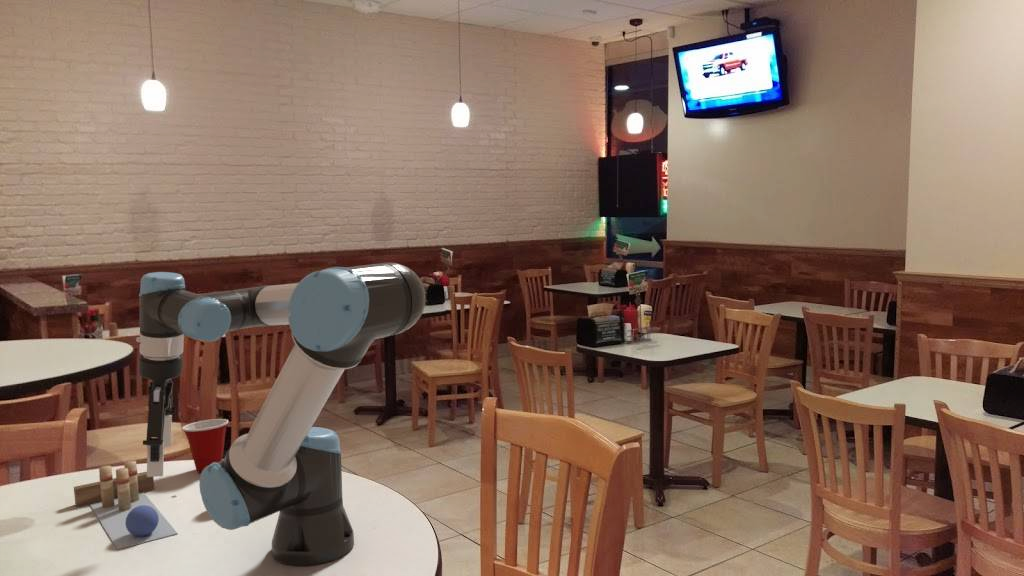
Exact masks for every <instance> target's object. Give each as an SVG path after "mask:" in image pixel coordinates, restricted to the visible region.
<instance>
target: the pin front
mask: <svg viewBox="0 0 1024 576" xmlns="http://www.w3.org/2000/svg"><path fill="white" fill-rule="evenodd" d="M115 478H116V483H117V493H118V505H119V511H127V510H130V509H131V499H130V486H129V474H128V468H125V467H121V468H118V469H115Z"/></svg>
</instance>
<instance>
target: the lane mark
mask: <svg viewBox="0 0 1024 576" xmlns="http://www.w3.org/2000/svg"><path fill="white" fill-rule="evenodd" d="M114 504H115V505H114V506H113V507H110V508H102V501H101V502H96V503H92V504H89V506H90V507H91V510H92V511H93V512H94V515H95V516H96V517H97V519H98V520H99V522H100V524H101V525H102V527H103V529H104V530H105V532H106V534H107V536H109V538H110V540H111V542H112V543H113V546H114V547H115V549H116V550H117V551H118V550H122V549H126V548H130V547H133V546H138V545H141V544H145V543H149V542H153V541H156V540H159V539H161V540H162V539H164V538H168V537H173V536H176V535H178V532H177V531H176V530H175V528H174V527H173V526H172V525H171V523H170V522H169V521H168V519H166V517H165V516H164V515H163V513H162V512H161V511H160V510H159V509H158V507H156V505H155V504H154V503H153V501H151V499H150V498H149V497H148V496H147V495H146V493H145V492H141V493H139V500H138V501H136V502H131V509H130V510H127V511H119V505H118V498H114ZM141 505H147V506H150V507H152V508H154V509H155V510H156V512H157V513H158V517H159V521H158V525H157V527H156V529H155V530H154V531H153V532H152V533H150V534H148V535H146V536H142V537H139V536H134V535H132V534H131V533H130V532H129V531H128V530H127V528H126V517H127V515H128V514H129V512H130V511H131V510H132V509H134V508H135V507H137V506H141Z"/></svg>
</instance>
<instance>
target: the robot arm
mask: <svg viewBox="0 0 1024 576" xmlns="http://www.w3.org/2000/svg"><path fill="white" fill-rule="evenodd" d="M185 282H186V281H185V278H184V276H183V275H181V274H180V273H177V272H168V271H156V272H148V273H146V274H144V275H143V276H142V277H141V279H140V290H139V291H140V292H139V294H138V297H139V336H137V337H136V339H135V342H137V343H139V353H140V356H139V358H138V373H139V376H140V377H141V378H144V379H147V380H151V381H150V383H149V386H148V390H147V393H148V401H147V402H148V403H147V406H148V411H147V426H146V427H147V428H146V440H142V445H144V446H147V447H146V454H147V455H146V472H147V477H154V478H155V477H164V465H165V464H164V462H165V461H164V460H165V458H164V456H165V455H164V453H165V448H166V447H167V448H168V447H169V448H170V447H172V425H173V424H172V423H173V421H172V420H173V419H172V417H173V415H172V414H174V415H175V414H176V411H177V409H176V407H174V403H173V388H174V382H173V380H172V379H176V378H179V377H180V376H181V375H182V374H183V369H184V368H183V367H184V366H183V364H184V363H183V362H184V356H183V355H182V354H183V353H184V347H185V346H184V343H185V342H184V338H185V336H186V337H188V338H190V339H193V340H195V341H201V342H206V343H207V342H216V341H218V340H219V339H220V338H222V337H223V336H225V334H226V333H228V332H232V331H238V330H242V329H249V328H255V327H270V326H272V327H273V326H287V325H289V329H290V331H291V338H292V340H293V343H294V345H293V347H292V350H291V351H290V353H289V354H288V357H287V358H286V361H285V362H284V364H283V367H282V368H281V370H280V372H279V374H278V375H277V378H276V380H275V382H274V384H273V385H272V387H271V389H270V391H269V393H268V394H267V397H266V398H265V401H264V402H263V405H262V407H261V408H260V410H259V412H258V414H257V416H256V418H255V419H254V422H253V423H252V425H251V428H250V429H249V431H248V433H245V434H242V435H240V436H239V437H237V438H236V439H235V440H234V441H233V442H232V443H231V446H230V447H229V449H228V451H227V452H226V455H225V457H224V458H222V461H220V462H218V463H217V462H214V463H212V464H211V465H209V466H207V467H205V468H204V469H203V471H202V473H200V475H199V476H200V477H199V493H200V496H201V501H202V504H203V505H204V509H205V510H206V512H207V513H208V515H209V517H210V518H211V519H212V521H213V522H214V523H215V524H216V525H217V526H219V528H221V529H225V530H229V531H233V530H236V529H240V528H243V527H248V526H249V525H251V524H254V523H255V522H258V521H260V520H262V519H264V518H267V517H270V516H272V515H274V514H276V513H278V512H279V513H278V518H277V521H276V525H275V529H274V532H273V536H272V540H271V554H272V557H273V559H275V560H276V562H279V563H281V564H285V565H289V566H299V567H300V566H302V567H303V566H313V565H321V564H325V563H329V562H331V561H335V560H337V559H340V558H342V557H344V556H346V554H348V553H349V552H350V551H351V550H352V549H353V548H354V546H355V537H354V536H355V535H354V533H355V532H354V530H353V528H352V525H351V521H350V520H349V517H348V515H347V512H346V509H345V507H344V502H343V499H344V498H343V482H342V481H343V477H342V450H341V445H340V443H341V442H340V437H339V435H338V433H337V432H336V431H334V430H332V429H330V428H326V427H320V426H319V427H318V426H313V425H314V424H315V423H316V420H317V418H318V416H320V413H321V411H322V410H323V408H324V406H325V404H326V402H327V401H328V399H329V398H330V396H331V394H332V392H333V391H334V389H335V387H336V385H337V384H338V382H339V380H340V379H341V377H342V375H343V373H344V372H345V370H348V369H352V368H355V367H357V366H358V364H359V365H360V363H361V361H362V360H363V358H364V357H365V355H366V353H367V352H368V349H369V348H370V346H371V345H372V343H373V342H375V340H379V339H383V338H387V337H390V336H394V335H398V334H401V333H404V332H405V331H408V330H409V329H411V328H412V327H413V326H414V325H415V324H416V323H418V321H419V320H420V318H421V317H422V314H423V313H424V309H425V306H426V299H427V298H426V290H425V287H424V284H423V282H422V280H421V279H420V277H419V276H418V275H417V273H416V272H414V270H412V269H410V268H409V267H408V266H406V265H403V264H400V263H396V262H378V263H372V264H365V265H364V264H363V265H356V266H348V267H344V266H333V267H327V268H324V269H321V270H317V271H313V272H311V273H308V274H307V275H306V276H304V277H303V278H302V279H301V280H300V281H299V282H297V283H296V282H294V283H286V284H285V283H284V284H275V285H274V284H273V285H257V286H255V287H254V286H253V287H246V288H238V289H233V290H232V289H231V290H223V291H215V292H214V291H213V292H207V293H194V292H191V291H188V290H187V289H186V285H185V284H186V283H185Z"/></svg>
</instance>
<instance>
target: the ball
mask: <svg viewBox="0 0 1024 576" xmlns="http://www.w3.org/2000/svg"><path fill="white" fill-rule="evenodd" d="M158 521H159V517H158V513H157V512H156V510H155V509H154V508H152V507H150V506H147V505H141V506H137V507H135V508H134V509H132V510H131V511H130V512H129V514H128V515H127V517H126V528H127V530H128V531H129V532H130V533H131V534H132V535H134V536H139V537H142V536H146V535H148V534H150V533H152V532H153V531H154V530H155V529H156V527H157V525H158Z"/></svg>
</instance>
